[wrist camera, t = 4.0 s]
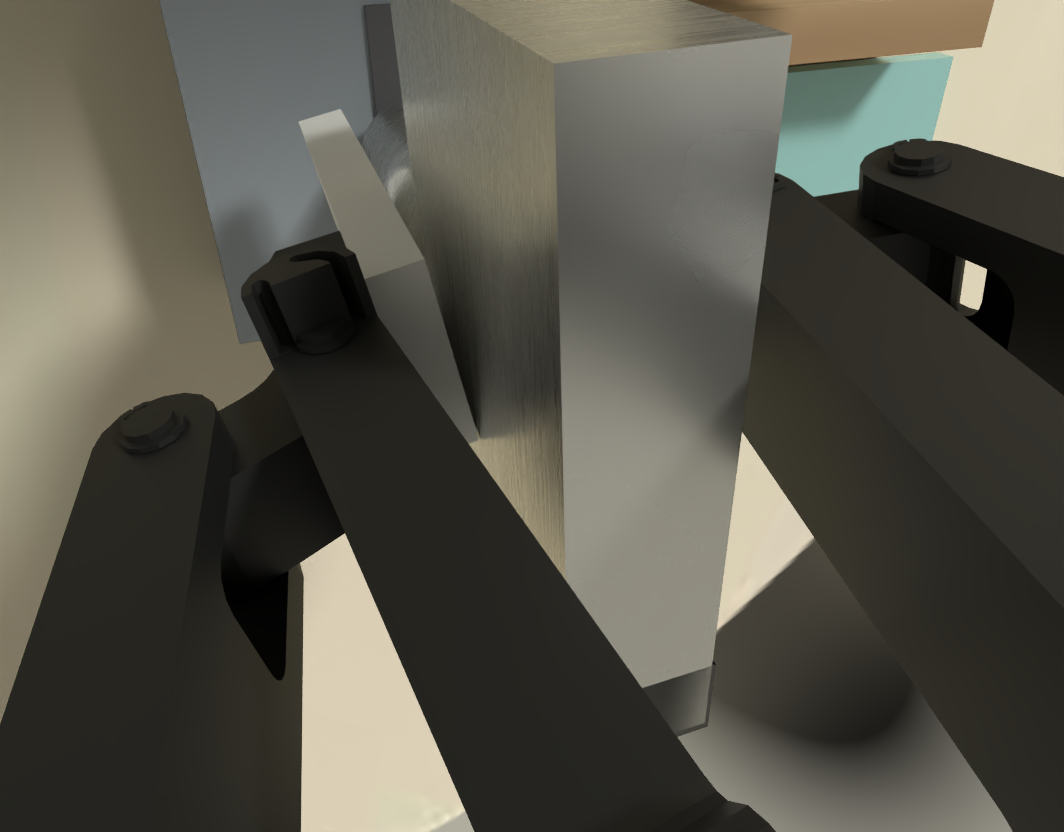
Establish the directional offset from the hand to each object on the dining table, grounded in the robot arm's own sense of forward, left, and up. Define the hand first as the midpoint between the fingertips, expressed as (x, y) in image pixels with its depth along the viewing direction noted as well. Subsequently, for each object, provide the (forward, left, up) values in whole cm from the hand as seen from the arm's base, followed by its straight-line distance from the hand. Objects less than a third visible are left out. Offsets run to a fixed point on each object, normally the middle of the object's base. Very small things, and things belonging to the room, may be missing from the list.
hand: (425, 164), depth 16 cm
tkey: (0, 0, -2) cm, 2 cm away
